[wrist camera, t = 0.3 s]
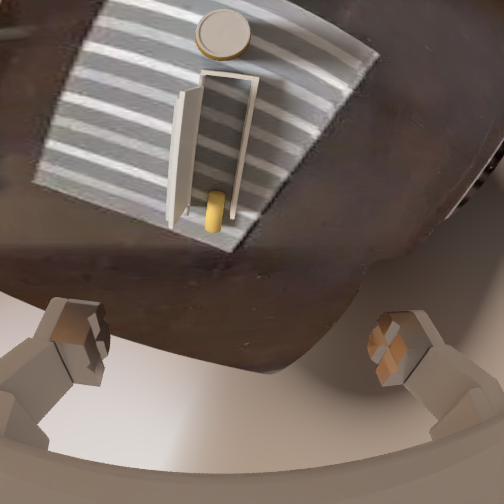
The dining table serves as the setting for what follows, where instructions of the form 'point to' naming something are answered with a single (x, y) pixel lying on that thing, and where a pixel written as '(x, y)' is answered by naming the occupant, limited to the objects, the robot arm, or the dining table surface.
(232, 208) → the white long shallow tray
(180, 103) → the cover
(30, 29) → the dining table surface
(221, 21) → the bottle
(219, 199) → the yellow cylinder
